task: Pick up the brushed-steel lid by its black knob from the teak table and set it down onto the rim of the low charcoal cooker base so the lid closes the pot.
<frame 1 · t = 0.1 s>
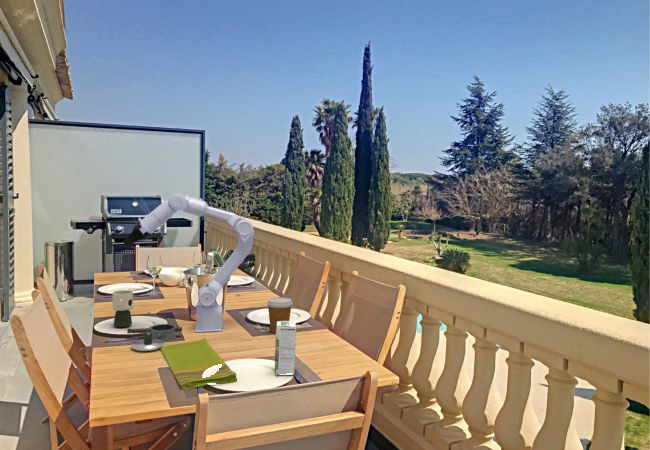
hand: (126, 243, 181), 32 cm above the table, tool tilted 50°, fingers open, 7 cm apart
disposable coffee cup: (279, 332, 190), on the table
cooker base: (162, 337, 179), on the table
syrup box: (284, 373, 149), on the table
character mug: (122, 327, 190), on the table
dish towel: (195, 367, 154), on the table
lid: (147, 348, 167), on the table
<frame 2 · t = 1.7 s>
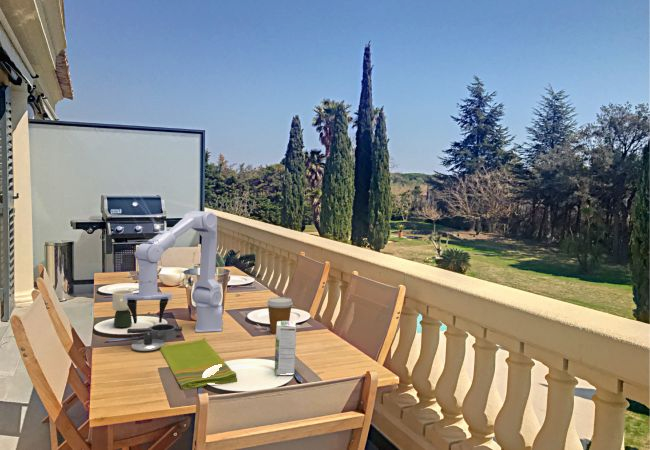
hand: (147, 322, 166), 8 cm above the table, tool pointing down, fingers open, 7 cm apart
nothing on the table moved.
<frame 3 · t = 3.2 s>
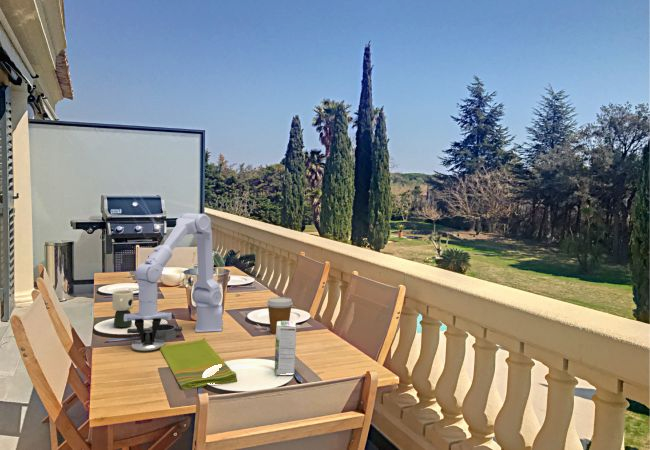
hand: (147, 341, 167), 2 cm above the table, tool pointing down, fingers closed on lid, 3 cm apart
lid: (147, 348, 167), on the table, touching gripper
everything else where it was.
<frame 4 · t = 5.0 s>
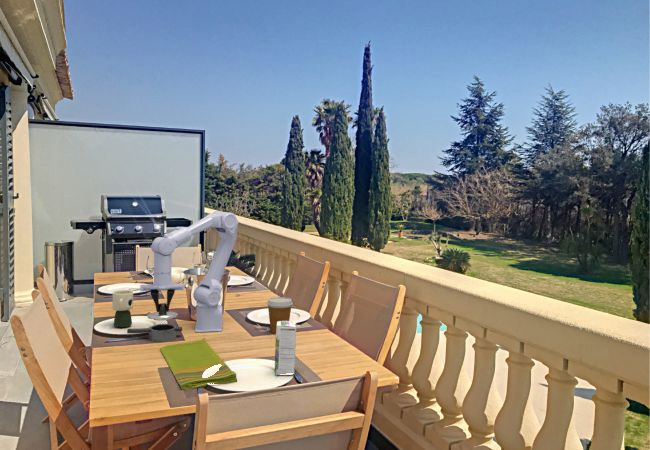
hand: (162, 311, 178), 9 cm above the table, tool pointing down, fingers closed on lid, 3 cm apart
lid: (162, 318, 177), point 7 cm above the table, touching gripper
everything else where it was.
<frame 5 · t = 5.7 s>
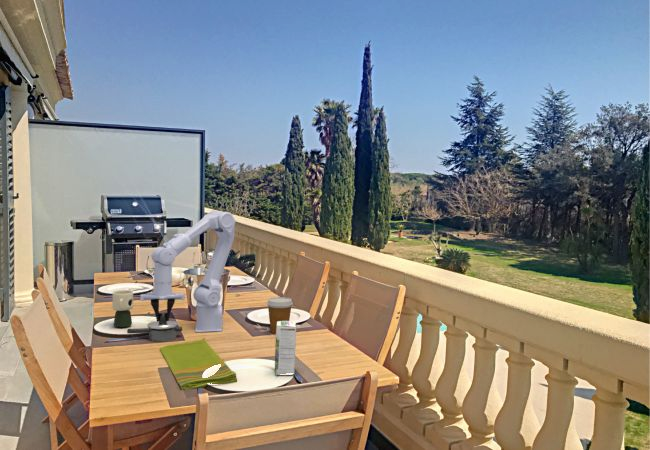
hand: (162, 320, 178), 6 cm above the table, tool pointing down, fingers closed on lid, 3 cm apart
lid: (162, 328, 178), point 3 cm above the table, touching gripper
everything else where it was.
when the fingers open (6 cm above the table, at t = 6.4 s): lid stays where it is, resting on cooker base.
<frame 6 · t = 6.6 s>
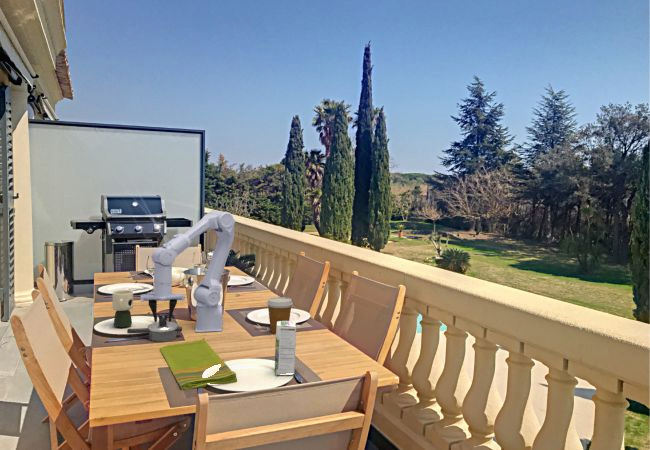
hand: (162, 321, 178), 6 cm above the table, tool pointing down, fingers open, 4 cm apart
lid: (162, 330, 178), point 3 cm above the table, touching cooker base
everything else where it was.
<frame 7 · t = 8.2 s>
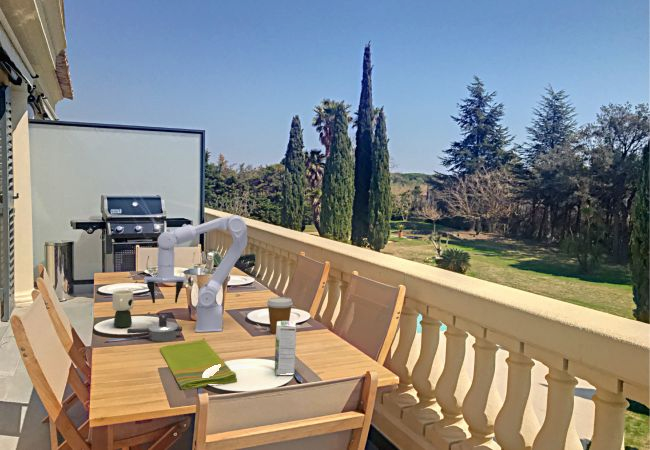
hand: (164, 302, 186), 10 cm above the table, tool pointing down, fingers open, 7 cm apart
nothing on the table moved.
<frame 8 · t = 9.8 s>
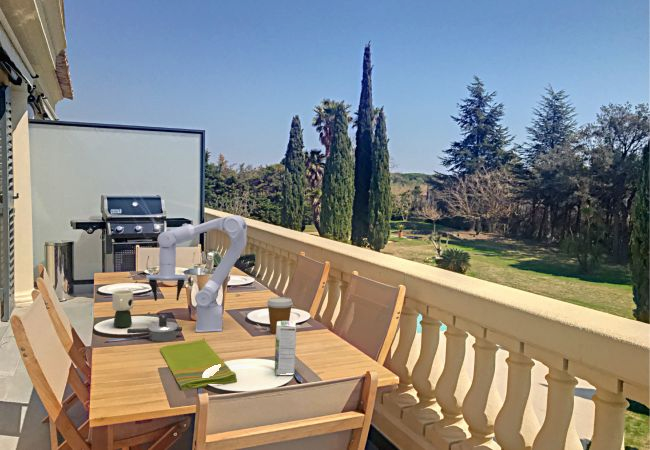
hand: (166, 300, 190), 10 cm above the table, tool pointing down, fingers open, 7 cm apart
nothing on the table moved.
at the end: lid 0.4 cm off-centre on the cooker base, point 2.7 cm above the cooker base's base; lid tilted 0°; the gripper is holding nothing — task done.
